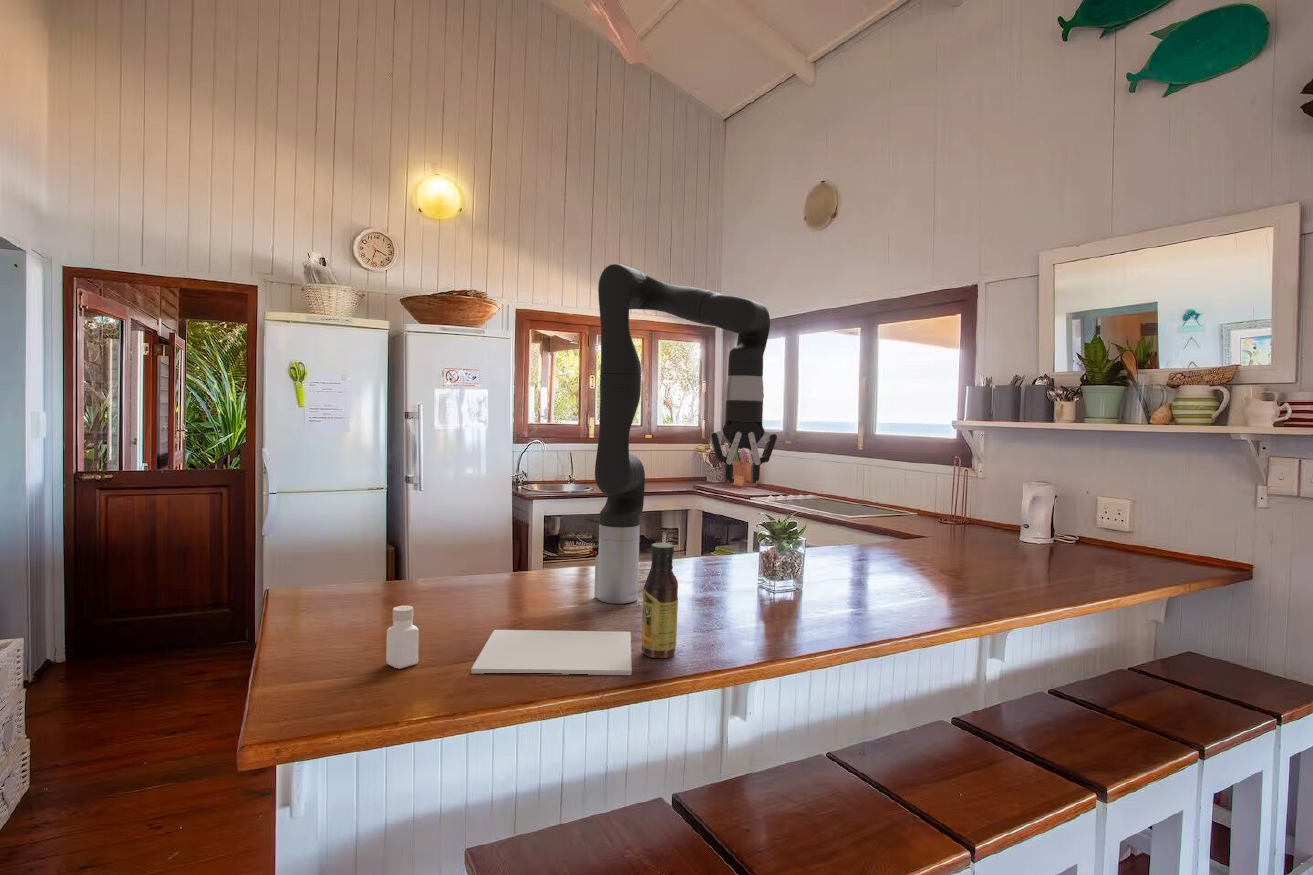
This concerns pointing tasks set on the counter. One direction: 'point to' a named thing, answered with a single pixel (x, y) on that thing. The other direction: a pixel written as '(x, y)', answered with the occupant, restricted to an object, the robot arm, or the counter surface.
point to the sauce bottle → (660, 604)
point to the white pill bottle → (402, 639)
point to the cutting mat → (556, 652)
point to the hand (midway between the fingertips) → (741, 482)
